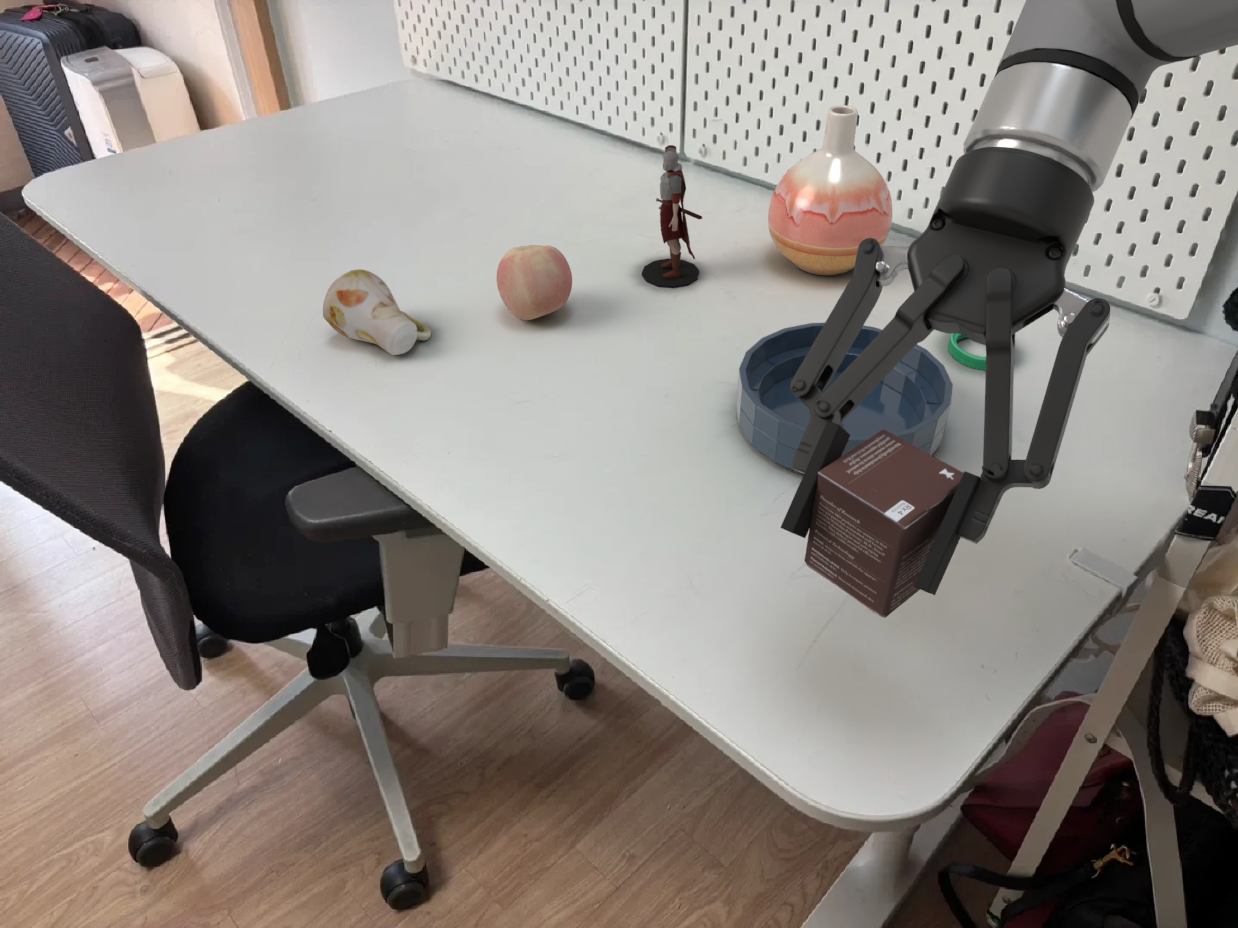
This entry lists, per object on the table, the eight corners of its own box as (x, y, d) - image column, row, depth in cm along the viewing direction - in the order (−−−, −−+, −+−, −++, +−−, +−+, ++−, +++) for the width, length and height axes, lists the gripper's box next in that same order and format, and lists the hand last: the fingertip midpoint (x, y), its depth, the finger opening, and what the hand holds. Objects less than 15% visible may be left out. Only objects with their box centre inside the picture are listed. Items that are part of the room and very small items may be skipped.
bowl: (970, 406, 86) (983, 361, 83) (889, 516, 75) (900, 468, 72) (795, 346, 95) (800, 303, 92) (699, 437, 84) (700, 391, 81)
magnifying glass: (1020, 370, 91) (1024, 355, 90) (957, 371, 91) (961, 356, 90) (975, 293, 103) (979, 279, 101) (920, 294, 103) (923, 280, 102)
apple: (582, 301, 103) (578, 234, 98) (561, 337, 97) (556, 268, 92) (513, 294, 105) (507, 227, 99) (490, 329, 99) (481, 260, 94)
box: (866, 519, 59) (884, 426, 54) (947, 571, 55) (974, 476, 50) (801, 564, 56) (814, 470, 51) (882, 623, 52) (905, 527, 47)
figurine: (639, 261, 110) (638, 134, 100) (700, 258, 110) (705, 132, 101) (644, 289, 105) (643, 158, 95) (708, 286, 105) (714, 155, 95)
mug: (393, 376, 93) (329, 293, 88) (360, 375, 101) (300, 298, 96) (447, 331, 95) (388, 248, 91) (411, 333, 103) (355, 257, 99)
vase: (748, 278, 106) (759, 122, 95) (784, 229, 116) (798, 82, 105) (868, 301, 102) (894, 140, 90) (895, 248, 111) (922, 97, 100)
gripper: (1220, 247, 49) (1044, 643, 50) (869, 168, 59) (722, 501, 59) (1243, 184, 43) (1039, 642, 43) (842, 106, 52) (677, 482, 52)
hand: (856, 560), depth 51 cm, fingers closed on box, 7 cm apart
